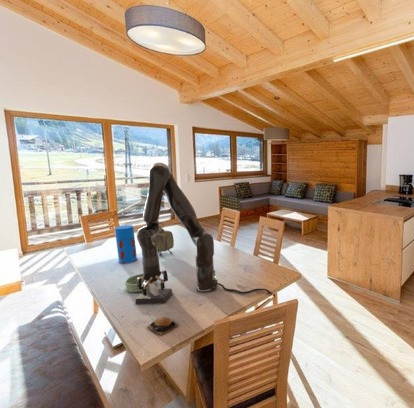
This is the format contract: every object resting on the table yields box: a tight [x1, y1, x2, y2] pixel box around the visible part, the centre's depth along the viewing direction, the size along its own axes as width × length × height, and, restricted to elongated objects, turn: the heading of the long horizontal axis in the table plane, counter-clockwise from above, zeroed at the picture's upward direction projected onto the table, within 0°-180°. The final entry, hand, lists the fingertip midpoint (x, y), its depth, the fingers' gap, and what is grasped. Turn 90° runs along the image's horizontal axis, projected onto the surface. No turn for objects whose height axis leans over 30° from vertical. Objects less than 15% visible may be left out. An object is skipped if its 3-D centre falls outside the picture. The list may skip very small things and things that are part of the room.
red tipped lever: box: [149, 283, 159, 296], centre depth 145 cm, size 7×2×5 cm, turn 50°
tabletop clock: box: [151, 222, 175, 257], centre depth 207 cm, size 14×9×25 cm, turn 79°
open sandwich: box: [147, 316, 178, 336], centre depth 122 cm, size 11×8×4 cm
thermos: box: [114, 224, 138, 265], centre depth 195 cm, size 11×11×25 cm
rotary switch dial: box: [135, 287, 173, 305], centre depth 146 cm, size 14×11×3 cm
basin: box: [124, 273, 157, 293], centre depth 159 cm, size 15×15×5 cm
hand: (154, 292), depth 145 cm, fingers open, 8 cm apart
